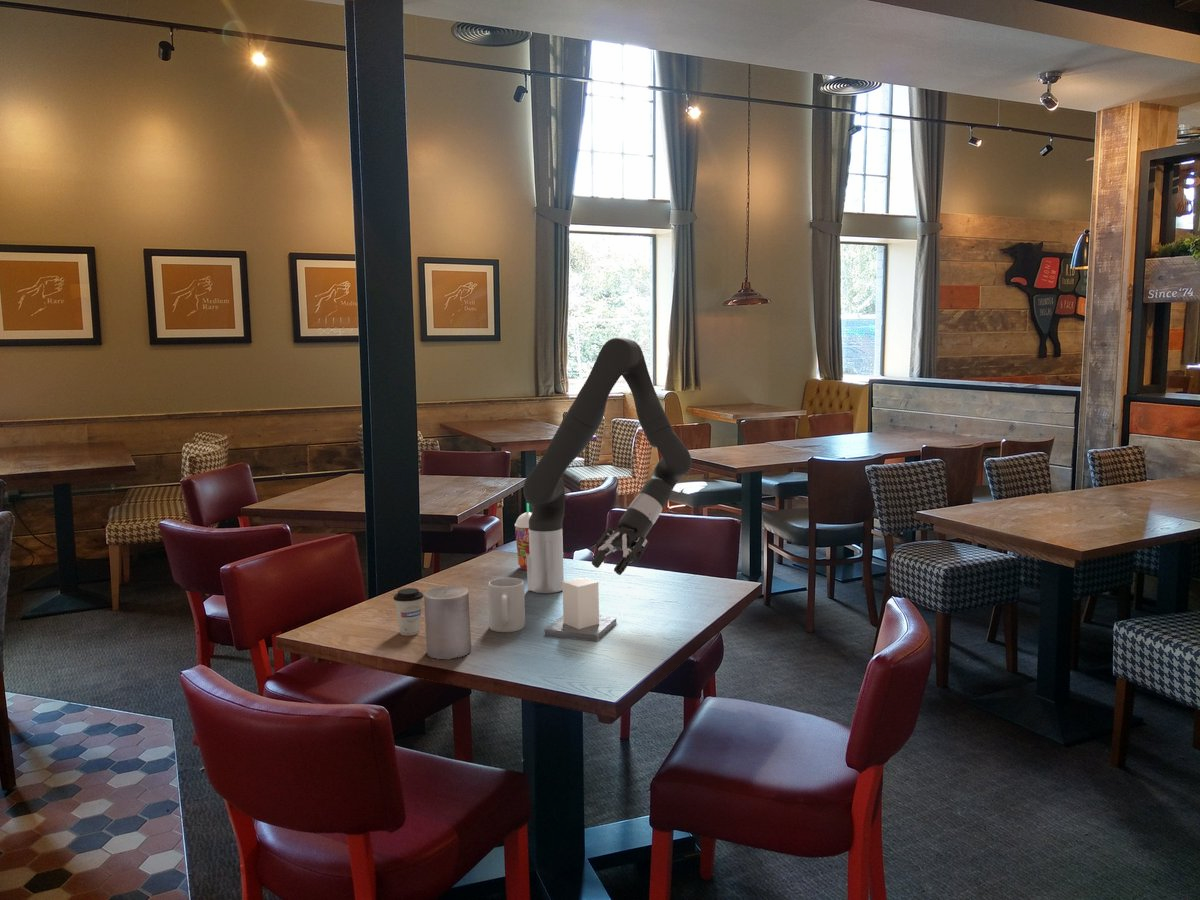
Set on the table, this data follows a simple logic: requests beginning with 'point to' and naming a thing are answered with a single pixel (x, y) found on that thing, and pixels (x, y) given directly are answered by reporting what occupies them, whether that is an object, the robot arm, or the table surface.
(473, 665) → the table surface
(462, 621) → the pillar candle
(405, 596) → the coffee cup
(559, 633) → the base plate
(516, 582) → the mug
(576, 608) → the white rectangular block
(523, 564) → the smoothie
